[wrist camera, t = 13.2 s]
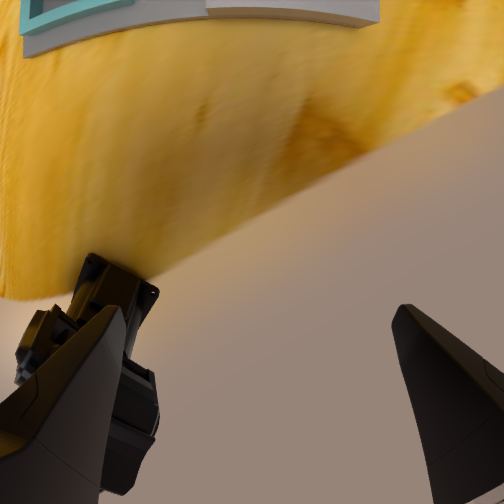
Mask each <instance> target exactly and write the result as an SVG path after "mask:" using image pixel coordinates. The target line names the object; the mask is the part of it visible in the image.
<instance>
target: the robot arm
mask: <svg viewBox="0 0 504 504" xmlns="http://www.w3.org/2000/svg"><path fill="white" fill-rule="evenodd" d="M90 259H91V260H93V262H92V261H91V260H90ZM152 292H155V293H152ZM159 293H160V291H159V289H158V288H157V287H155V286H154V285H151V284H150V283H148V282H146V281H144V280H142V279H140V278H138V277H136V276H134V275H132V274H130V273H128V272H126V271H124V270H122V269H120V268H118V267H117V266H115V265H113V264H111V263H109V262H107V261H105V260H104V259H102V258H100V257H98V256H96V255H94V254H88V256H87V257H86V259H85V261H84V264H83V267H82V270H81V273H80V276H79V279H78V282H77V285H76V288H75V291H74V294H73V298H72V301H71V305H70V306H69V308H68V310H67V313H66V314H65V313H64V312H63V311H62V310H61V308H60V307H59V306H58V305H56V304H55V305H54V306H53V307H52V309H51V310H50V311H49V310H48V311H42V310H37V311H36V313H35V314H34V316H33V318H32V320H31V321H30V323H29V325H28V327H27V329H26V330H25V333H24V334H23V337H22V339H21V342H20V343H19V346H18V348H17V350H16V353H15V355H16V359H17V363H18V365H17V369H16V371H17V374H16V377H15V382H14V383H15V384H17V385H18V386H20V387H19V388H18V389H17V390H16V391H14V392H13V393H12V394H11V395H10V396H9V397H8V398H6V399H5V400H4V401H3V402H1V403H0V504H98V498H99V494H100V493H102V492H103V491H108V492H111V493H114V494H117V495H120V496H123V495H125V494H126V493H127V492H128V491H129V490H130V489H131V488H132V487H133V486H134V484H135V480H136V477H137V474H138V471H139V468H140V465H141V462H142V460H143V459H144V456H145V455H146V453H147V451H148V450H149V449H150V447H151V446H152V445H153V443H154V442H155V437H154V436H155V433H156V431H157V429H158V425H159V419H160V413H159V406H158V399H157V391H156V384H155V375H154V372H152V371H150V370H149V369H145V368H143V367H142V366H140V365H138V364H137V363H135V362H134V361H132V360H130V357H131V354H132V349H133V346H134V342H135V338H136V335H137V331H138V329H139V327H140V326H141V324H142V322H143V321H144V319H145V318H146V316H147V314H148V313H149V311H150V309H151V308H152V306H153V305H154V303H155V301H156V300H157V298H158V296H159ZM392 332H393V336H394V341H395V345H396V350H397V354H398V359H399V363H400V367H401V371H402V374H403V377H404V381H405V384H406V387H407V390H408V394H409V397H410V401H411V404H412V408H413V412H414V415H415V419H416V423H417V426H418V431H419V434H420V439H421V443H422V447H423V451H424V456H425V460H426V465H427V470H428V475H429V480H430V486H431V491H432V497H433V503H434V504H465V503H467V502H470V501H472V500H473V503H474V504H504V373H502V372H501V371H499V370H498V369H497V368H496V367H494V366H493V365H491V364H490V363H489V362H488V361H487V360H485V359H483V357H482V356H480V355H479V354H478V353H476V352H475V351H474V350H472V349H471V348H470V347H469V346H467V345H466V344H465V343H463V342H462V341H460V340H459V339H458V338H457V337H456V336H454V335H453V334H452V333H450V332H449V331H447V330H446V329H445V328H444V327H442V326H441V325H439V324H438V323H437V322H435V321H434V320H433V319H431V318H430V317H429V316H427V315H426V314H424V313H423V312H422V311H420V310H419V309H417V308H416V307H415V306H413V305H412V304H402V305H400V306H399V307H398V309H397V312H396V314H395V316H394V318H393V321H392Z"/></svg>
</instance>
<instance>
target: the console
mask: <svg viewBox="0 0 504 504" xmlns="http://www.w3.org/2000/svg"><path fill="white" fill-rule="evenodd" d="M214 18H277V19H292V20H304V21H313V22H322V23H329V24H336V25H342V26H348V27H354V28H362V27H365V26H369V25H373V24H377V23H380V10H379V0H21V8H20V25H19V35H21V36H23V59H25V58H33V57H36V56H38V55H41V54H43V53H46V52H49V51H52V50H54V49H57V48H60V47H63V46H66V45H69V44H73V43H76V42H79V41H83V40H86V39H90V38H93V37H97V36H101V35H105V34H109V33H114V32H118V31H123V30H127V29H132V28H138V27H143V26H149V25H156V24H162V23H170V22H178V21H188V20H199V19H214Z"/></svg>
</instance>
